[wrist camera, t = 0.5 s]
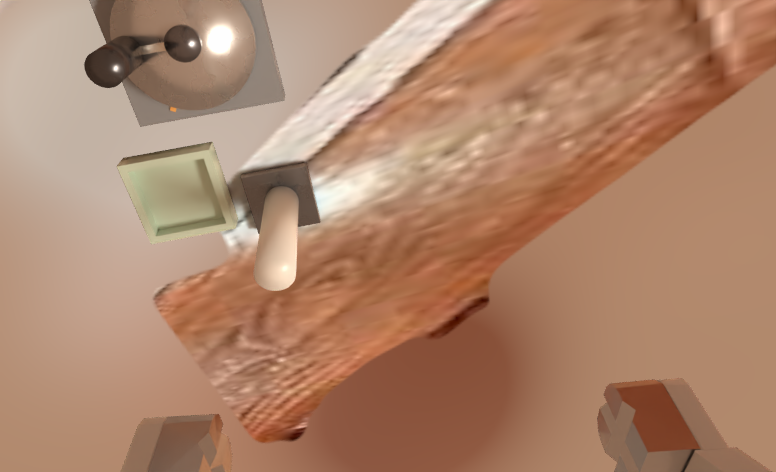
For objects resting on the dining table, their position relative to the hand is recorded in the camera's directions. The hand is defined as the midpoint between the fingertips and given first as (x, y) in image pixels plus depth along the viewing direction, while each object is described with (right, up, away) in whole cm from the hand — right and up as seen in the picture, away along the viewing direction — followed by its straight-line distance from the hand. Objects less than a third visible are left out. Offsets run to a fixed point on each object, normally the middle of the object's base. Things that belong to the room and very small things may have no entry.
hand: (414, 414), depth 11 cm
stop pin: (-12, +8, +47) cm, 49 cm away
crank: (-19, +21, +37) cm, 46 cm away
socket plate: (-12, +8, +48) cm, 50 cm away
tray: (-22, +9, +46) cm, 52 cm away
